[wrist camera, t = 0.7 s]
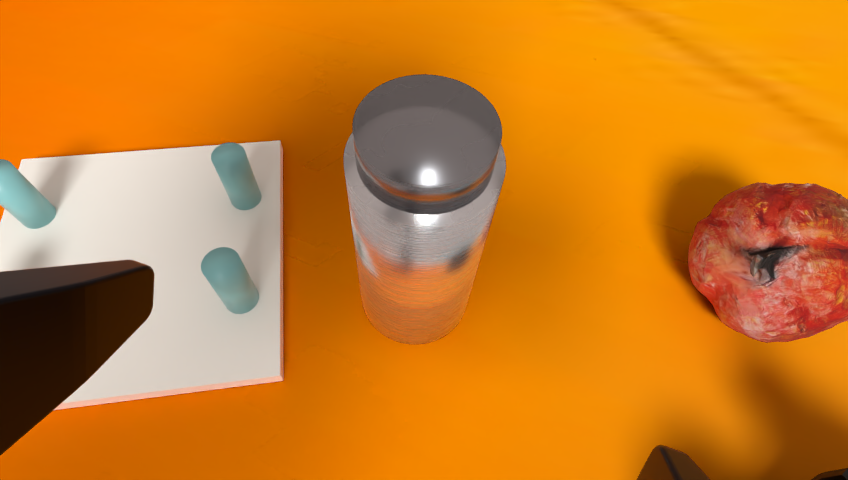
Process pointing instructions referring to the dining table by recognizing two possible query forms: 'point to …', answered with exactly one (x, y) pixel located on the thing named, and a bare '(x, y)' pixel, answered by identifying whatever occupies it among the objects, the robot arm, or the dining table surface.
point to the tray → (165, 257)
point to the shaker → (421, 201)
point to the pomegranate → (774, 260)
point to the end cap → (833, 475)
